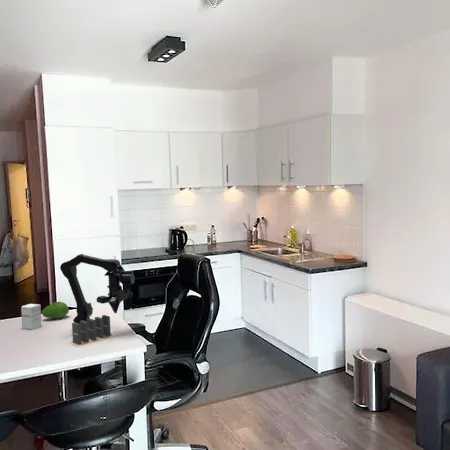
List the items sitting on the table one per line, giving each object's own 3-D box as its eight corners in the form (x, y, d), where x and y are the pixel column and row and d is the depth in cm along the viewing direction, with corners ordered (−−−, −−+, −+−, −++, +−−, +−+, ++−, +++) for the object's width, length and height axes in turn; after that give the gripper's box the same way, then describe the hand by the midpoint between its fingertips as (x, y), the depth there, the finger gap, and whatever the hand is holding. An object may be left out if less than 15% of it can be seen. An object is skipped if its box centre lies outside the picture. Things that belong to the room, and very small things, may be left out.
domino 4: (100, 338, 236) (100, 319, 235) (95, 336, 239) (94, 317, 238) (103, 337, 237) (102, 318, 236) (98, 335, 240) (97, 316, 239)
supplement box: (21, 328, 258) (20, 306, 257) (31, 325, 265) (30, 303, 264) (32, 329, 255) (30, 307, 254) (42, 326, 262) (40, 304, 261)
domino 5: (108, 336, 239) (107, 317, 238) (102, 334, 242) (101, 315, 241) (110, 335, 240) (109, 316, 239) (105, 333, 243) (104, 314, 242)
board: (77, 347, 224) (77, 346, 224) (67, 344, 230) (67, 342, 230) (115, 336, 240) (115, 335, 240) (106, 333, 246) (106, 332, 246)
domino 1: (78, 344, 226) (77, 324, 226) (72, 342, 230) (71, 323, 229) (81, 343, 228) (80, 323, 227) (75, 341, 231) (74, 322, 230)
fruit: (44, 322, 269) (43, 305, 268) (41, 318, 277) (40, 302, 276) (70, 318, 276) (69, 302, 276) (67, 314, 285) (66, 298, 284)
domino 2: (86, 342, 229) (85, 322, 229) (80, 340, 233) (79, 321, 232) (89, 341, 231) (88, 322, 230) (83, 339, 234) (82, 320, 233)
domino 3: (93, 340, 232) (92, 320, 232) (88, 338, 236) (87, 319, 235) (96, 339, 234) (95, 320, 233) (91, 337, 237) (90, 318, 236)
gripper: (107, 288, 231) (108, 319, 232) (138, 282, 245) (139, 311, 246) (95, 286, 239) (96, 315, 240) (125, 280, 252) (126, 308, 253)
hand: (115, 313), depth 244 cm, fingers closed
